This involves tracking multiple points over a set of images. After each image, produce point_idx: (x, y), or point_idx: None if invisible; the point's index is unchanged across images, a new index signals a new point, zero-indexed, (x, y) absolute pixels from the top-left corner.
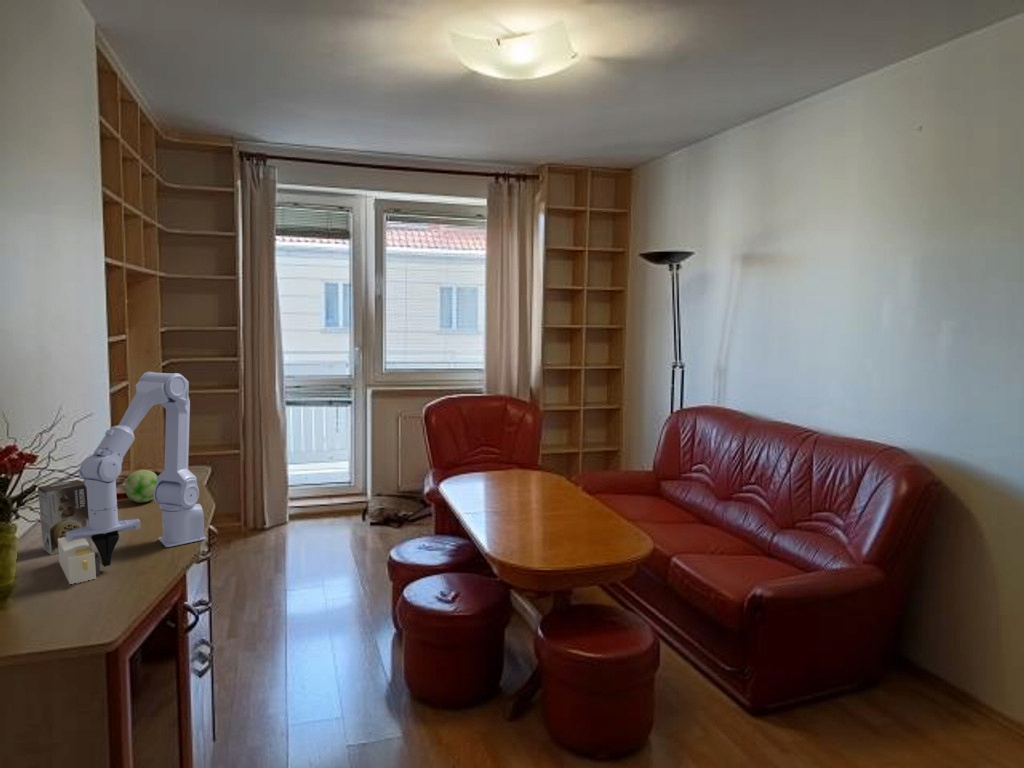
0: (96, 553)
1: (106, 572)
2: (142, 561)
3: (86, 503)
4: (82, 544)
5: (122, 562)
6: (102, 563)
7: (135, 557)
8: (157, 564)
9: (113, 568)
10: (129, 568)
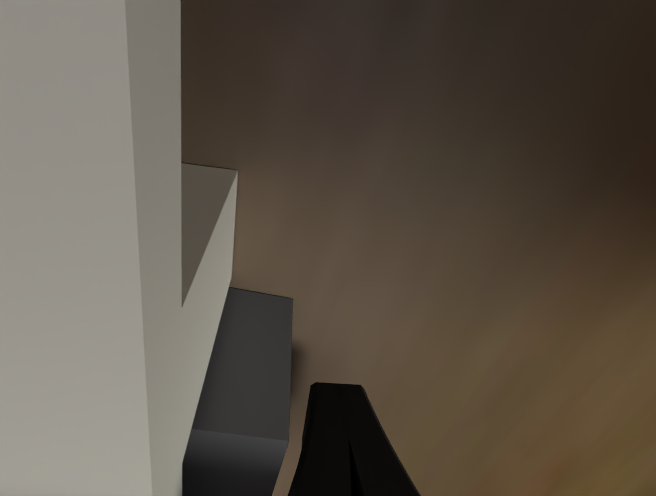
0: (265, 463)
1: None
2: (603, 357)
3: None
4: (25, 492)
5: (503, 277)
6: (309, 396)
7: (648, 233)
8: (608, 458)
9: (385, 356)
10: (461, 420)
